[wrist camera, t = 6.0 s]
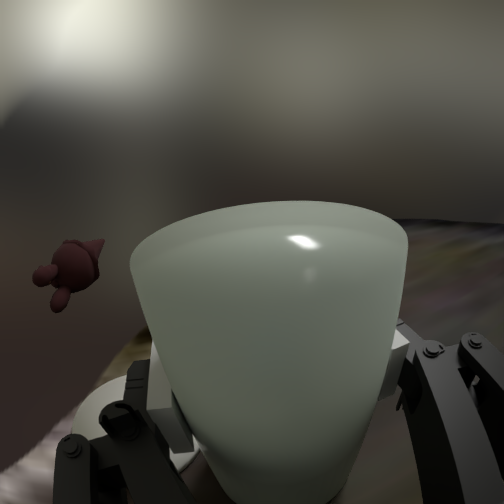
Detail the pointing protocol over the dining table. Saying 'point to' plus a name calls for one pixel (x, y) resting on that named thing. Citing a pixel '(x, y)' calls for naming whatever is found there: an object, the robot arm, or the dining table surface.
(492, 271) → the dining table surface
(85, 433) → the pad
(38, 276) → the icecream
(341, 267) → the tall sage cylinder
